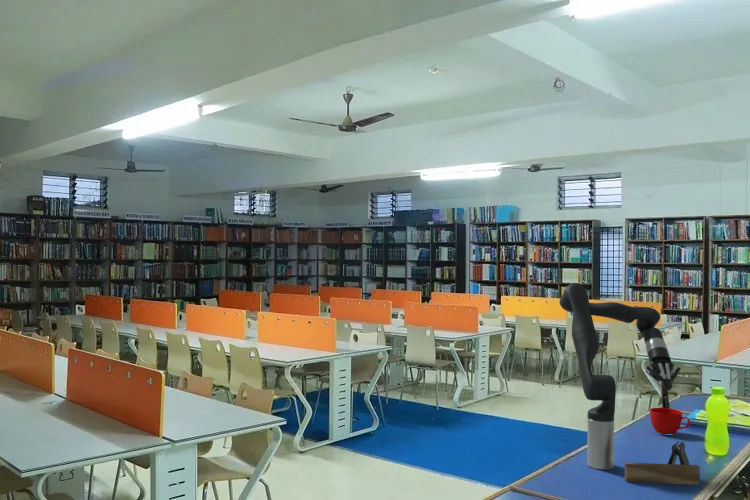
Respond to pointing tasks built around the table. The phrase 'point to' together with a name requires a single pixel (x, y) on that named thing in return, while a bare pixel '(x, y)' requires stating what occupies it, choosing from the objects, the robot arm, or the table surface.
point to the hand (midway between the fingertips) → (668, 389)
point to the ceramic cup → (667, 420)
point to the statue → (664, 397)
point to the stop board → (662, 473)
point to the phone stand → (679, 454)
